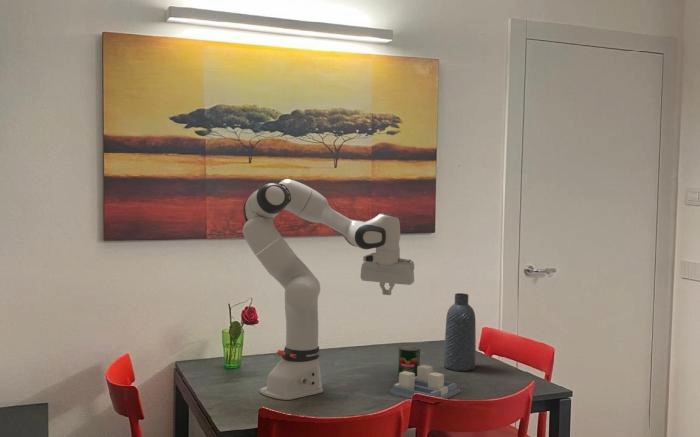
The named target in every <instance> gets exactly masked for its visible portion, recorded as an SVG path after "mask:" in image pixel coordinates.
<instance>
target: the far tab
mask: <svg viewBox="0 0 700 437" xmlns="http://www.w3.org/2000/svg"><path fill="white" fill-rule="evenodd" d="M433 367H434V366H432V365H426V364H420V366H418V367H417V380H421V381H425V382H428V374H430V373H433V372H434V371H433V369H434V368H433Z"/></svg>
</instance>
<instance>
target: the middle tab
mask: <svg viewBox="0 0 700 437" xmlns="http://www.w3.org/2000/svg"><path fill="white" fill-rule="evenodd" d="M444 381H445V375H444V373H440V372H437V371H436V372H435V371H433V373H430V374H428V388H431V389H435V390H439V389H440V388H443V387H444Z"/></svg>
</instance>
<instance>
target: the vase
mask: <svg viewBox="0 0 700 437" xmlns="http://www.w3.org/2000/svg"><path fill="white" fill-rule="evenodd" d="M476 326H477V325H476V314H475V311H474V308H473V307H472V306H471V305H470V304H469V294H468V293H460V292H459V293H455V294H454V303H453V304H452V305H451V306H450V307H449V308H448V310H447V314H446V319H445V331H444V332H445V333H444V349H443V350H444V351H443V368H446V369H447V370H451V371H455V372H456V371H457V372H469V371H473V370H474V369H475V368H476V365H477V364H476V361H477V359H476V351H477V350H476V349H477V348H476V346H477V345H476V343H477V340H476V339H477V338H476V329H477V328H476Z"/></svg>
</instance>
